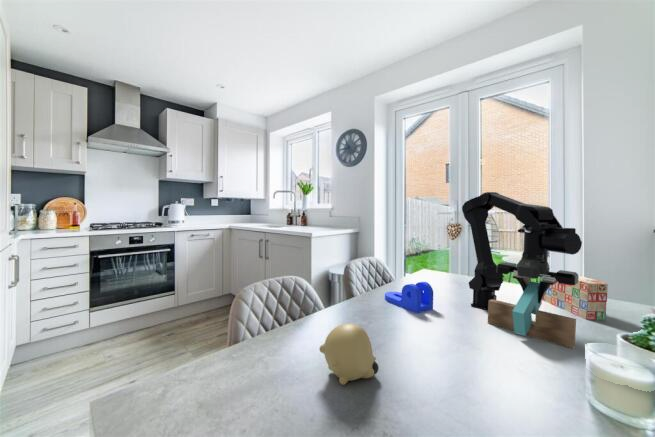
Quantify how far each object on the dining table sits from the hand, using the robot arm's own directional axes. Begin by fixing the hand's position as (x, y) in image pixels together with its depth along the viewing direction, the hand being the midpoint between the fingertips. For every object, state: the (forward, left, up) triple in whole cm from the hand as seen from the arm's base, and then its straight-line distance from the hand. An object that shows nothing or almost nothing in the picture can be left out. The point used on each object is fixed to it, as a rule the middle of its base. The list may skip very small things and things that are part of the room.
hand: (533, 301), depth 82 cm
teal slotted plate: (0, -4, -4) cm, 6 cm away
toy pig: (-17, -59, -8) cm, 62 cm away
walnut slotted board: (0, -5, -8) cm, 10 cm away
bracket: (-36, -11, -8) cm, 39 cm away
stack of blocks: (+3, +32, -8) cm, 33 cm away
